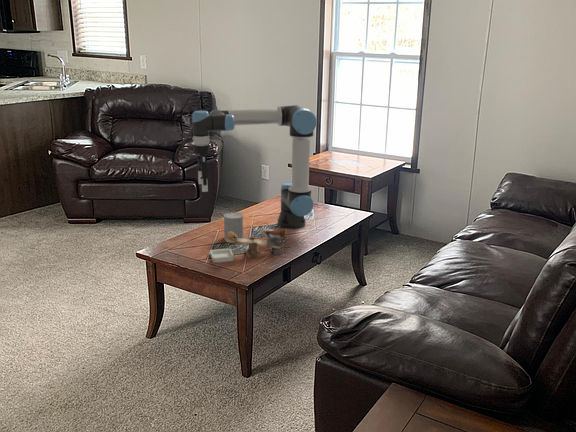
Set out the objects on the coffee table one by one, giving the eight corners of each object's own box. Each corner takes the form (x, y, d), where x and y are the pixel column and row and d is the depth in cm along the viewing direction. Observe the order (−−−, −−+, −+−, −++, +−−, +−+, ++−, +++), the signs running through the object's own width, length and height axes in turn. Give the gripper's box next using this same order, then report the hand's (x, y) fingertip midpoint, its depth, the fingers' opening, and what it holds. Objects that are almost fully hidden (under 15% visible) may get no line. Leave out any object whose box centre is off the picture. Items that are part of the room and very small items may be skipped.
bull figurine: (259, 243, 290) (259, 227, 287) (284, 239, 295) (284, 224, 292) (262, 246, 286) (262, 230, 283) (287, 242, 291) (288, 227, 288)
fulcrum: (257, 250, 280) (257, 236, 278) (261, 257, 273) (261, 242, 270) (245, 251, 279) (244, 237, 277) (248, 258, 271) (248, 243, 269)
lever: (277, 244, 281) (279, 235, 279) (280, 249, 276) (282, 239, 274) (224, 238, 272) (226, 228, 271) (226, 242, 267) (229, 232, 266)
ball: (233, 237, 272) (234, 230, 271) (235, 239, 269) (235, 232, 268) (226, 237, 271) (226, 230, 270) (227, 240, 268) (227, 233, 267)
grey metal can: (240, 242, 290) (239, 219, 286) (221, 241, 292) (221, 217, 288) (245, 236, 299) (245, 213, 295) (227, 234, 301) (226, 211, 297)
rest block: (277, 249, 282) (277, 244, 281) (280, 254, 276) (280, 249, 276) (271, 250, 281) (271, 245, 280) (274, 254, 276) (274, 250, 275)
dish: (230, 252, 278) (230, 248, 278) (234, 260, 268) (234, 256, 268) (209, 254, 276) (209, 250, 275) (213, 262, 266) (213, 258, 265)
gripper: (190, 139, 286) (192, 181, 293) (196, 150, 263) (198, 195, 270) (205, 138, 288) (207, 180, 294) (213, 149, 265) (214, 194, 272)
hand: (203, 187), depth 282 cm, fingers open, 13 cm apart
